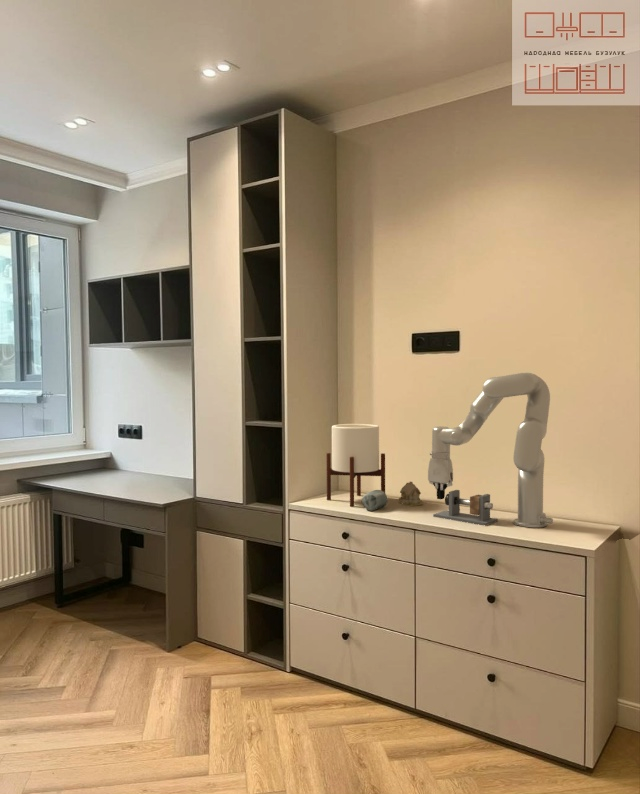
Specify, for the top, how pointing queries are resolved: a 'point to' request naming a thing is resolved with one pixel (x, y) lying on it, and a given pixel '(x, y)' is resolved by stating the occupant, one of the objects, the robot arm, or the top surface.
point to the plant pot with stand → (355, 455)
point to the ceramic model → (410, 495)
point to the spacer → (474, 505)
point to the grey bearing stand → (456, 515)
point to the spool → (374, 500)
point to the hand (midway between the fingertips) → (440, 498)
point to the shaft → (466, 502)
